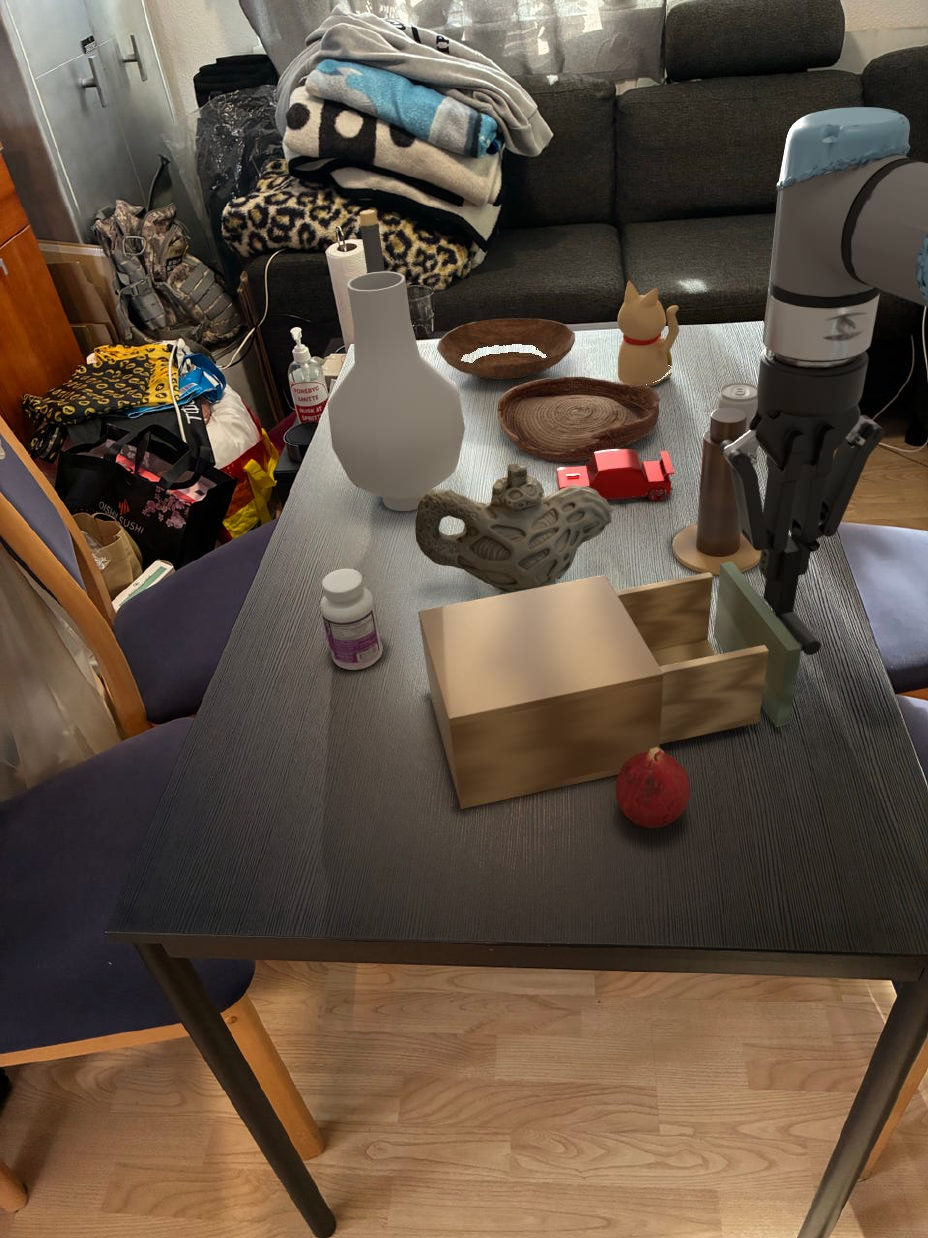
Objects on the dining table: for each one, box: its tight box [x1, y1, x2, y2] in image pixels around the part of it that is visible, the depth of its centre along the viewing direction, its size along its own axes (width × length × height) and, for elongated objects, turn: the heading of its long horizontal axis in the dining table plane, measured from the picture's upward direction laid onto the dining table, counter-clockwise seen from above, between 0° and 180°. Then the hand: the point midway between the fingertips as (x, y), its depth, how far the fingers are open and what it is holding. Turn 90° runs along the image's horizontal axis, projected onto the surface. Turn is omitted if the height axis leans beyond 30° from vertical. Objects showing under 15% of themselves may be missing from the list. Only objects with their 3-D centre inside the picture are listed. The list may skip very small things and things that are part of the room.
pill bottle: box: [320, 568, 384, 671], centre depth 94 cm, size 5×5×10 cm
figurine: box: [617, 279, 680, 387], centre depth 139 cm, size 9×10×15 cm
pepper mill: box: [696, 408, 748, 557], centre depth 101 cm, size 5×5×16 cm
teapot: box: [414, 463, 613, 593], centre depth 100 cm, size 21×12×15 cm, turn 99°
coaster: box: [671, 523, 761, 576], centre depth 106 cm, size 10×10×1 cm
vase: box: [327, 270, 466, 512], centre depth 113 cm, size 17×16×28 cm
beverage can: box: [716, 382, 758, 431], centre depth 115 cm, size 5×5×12 cm
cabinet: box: [417, 574, 664, 810], centre depth 83 cm, size 18×15×11 cm
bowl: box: [436, 317, 576, 380], centre depth 150 cm, size 20×22×5 cm
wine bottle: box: [359, 209, 413, 325], centre depth 130 cm, size 8×8×30 cm
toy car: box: [555, 448, 676, 502], centre depth 117 cm, size 14×6×5 cm, turn 89°
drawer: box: [615, 561, 822, 745], centre depth 85 cm, size 21×13×9 cm, turn 102°
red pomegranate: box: [615, 747, 691, 829], centre depth 74 cm, size 6×6×8 cm
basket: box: [496, 376, 661, 463], centre depth 131 cm, size 22×20×5 cm
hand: (778, 604), depth 83 cm, fingers closed
